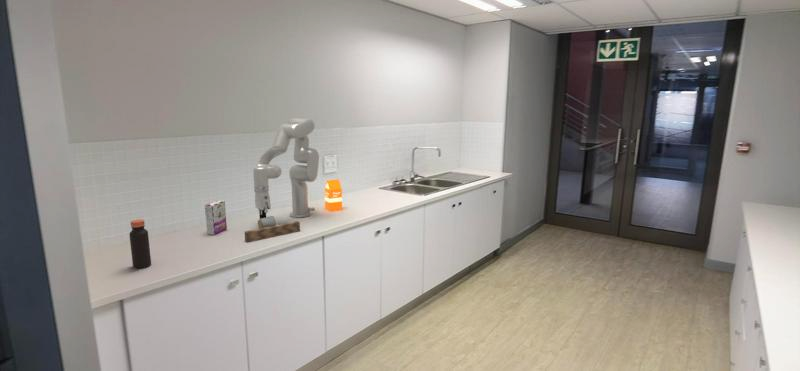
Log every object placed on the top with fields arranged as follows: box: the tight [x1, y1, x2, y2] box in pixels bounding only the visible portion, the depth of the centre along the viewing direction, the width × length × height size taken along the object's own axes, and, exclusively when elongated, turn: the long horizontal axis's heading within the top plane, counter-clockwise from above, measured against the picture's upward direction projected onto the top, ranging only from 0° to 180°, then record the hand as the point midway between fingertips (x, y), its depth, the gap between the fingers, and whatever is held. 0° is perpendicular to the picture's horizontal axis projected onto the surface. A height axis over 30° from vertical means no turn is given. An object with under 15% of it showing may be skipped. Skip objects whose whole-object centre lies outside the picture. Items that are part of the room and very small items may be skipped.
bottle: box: [129, 219, 152, 270], centre depth 183 cm, size 7×7×20 cm
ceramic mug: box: [257, 215, 277, 229], centre depth 236 cm, size 11×8×8 cm
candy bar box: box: [204, 200, 228, 236], centre depth 233 cm, size 11×5×16 cm, turn 168°
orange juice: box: [324, 178, 343, 212], centre depth 283 cm, size 8×9×20 cm
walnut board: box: [243, 220, 301, 243], centre depth 228 cm, size 30×2×5 cm, turn 132°
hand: (263, 221), depth 241 cm, fingers closed
